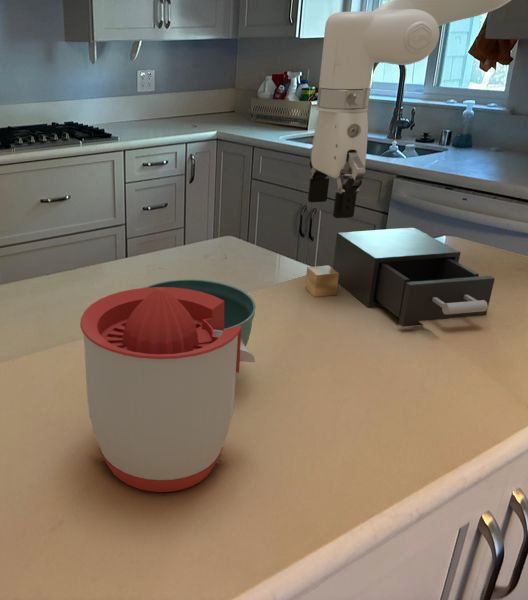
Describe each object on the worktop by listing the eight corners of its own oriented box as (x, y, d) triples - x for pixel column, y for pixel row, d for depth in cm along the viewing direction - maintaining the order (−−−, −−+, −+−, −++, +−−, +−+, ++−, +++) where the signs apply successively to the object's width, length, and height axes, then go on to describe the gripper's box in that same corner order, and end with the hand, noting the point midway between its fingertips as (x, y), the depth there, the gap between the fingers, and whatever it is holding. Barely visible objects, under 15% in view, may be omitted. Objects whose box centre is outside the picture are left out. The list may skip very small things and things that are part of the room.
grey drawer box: (450, 300, 102) (460, 252, 99) (367, 307, 100) (375, 258, 97) (406, 271, 115) (413, 227, 111) (331, 277, 113) (336, 232, 109)
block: (326, 286, 109) (328, 265, 107) (336, 295, 105) (339, 273, 104) (304, 288, 109) (307, 266, 107) (314, 296, 105) (316, 275, 103)
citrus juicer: (270, 497, 61) (287, 314, 53) (95, 518, 59) (84, 331, 50) (225, 409, 75) (233, 254, 67) (83, 423, 73) (73, 265, 65)
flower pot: (176, 427, 72) (177, 345, 67) (106, 369, 84) (102, 296, 80) (276, 385, 79) (283, 309, 75) (198, 338, 92) (200, 270, 88)
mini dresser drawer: (504, 332, 90) (515, 289, 87) (419, 340, 88) (427, 296, 85) (436, 288, 105) (444, 250, 102) (362, 294, 103) (367, 256, 100)
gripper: (395, 105, 87) (377, 222, 94) (340, 94, 102) (328, 195, 109) (345, 107, 86) (330, 225, 93) (297, 95, 102) (288, 197, 108)
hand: (329, 209), depth 101 cm, fingers open, 9 cm apart
